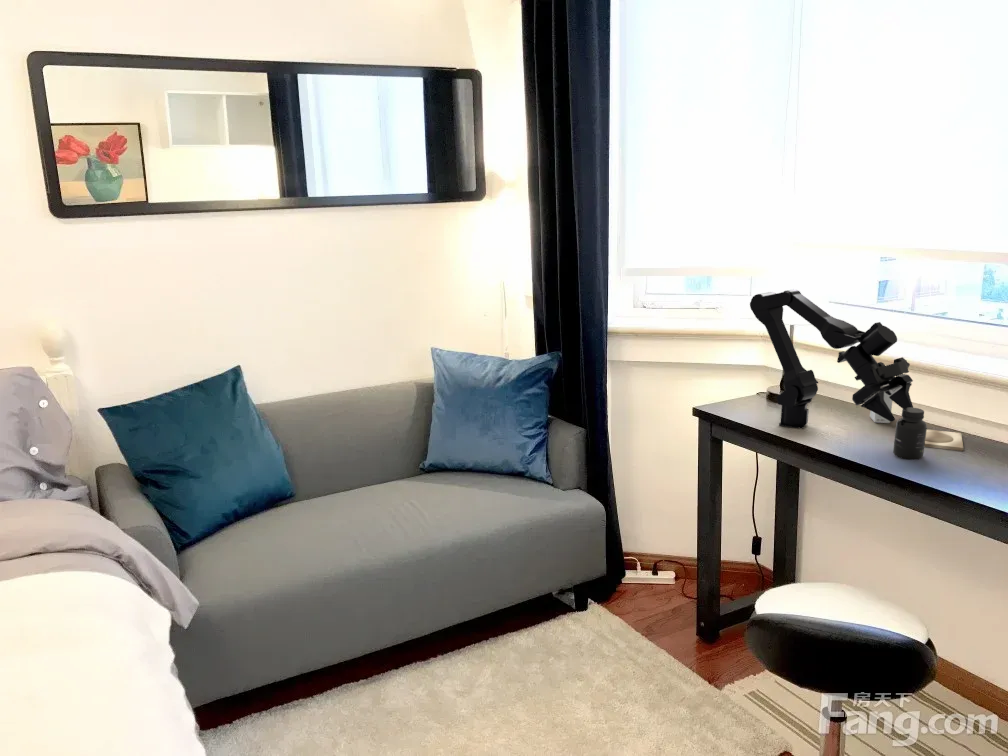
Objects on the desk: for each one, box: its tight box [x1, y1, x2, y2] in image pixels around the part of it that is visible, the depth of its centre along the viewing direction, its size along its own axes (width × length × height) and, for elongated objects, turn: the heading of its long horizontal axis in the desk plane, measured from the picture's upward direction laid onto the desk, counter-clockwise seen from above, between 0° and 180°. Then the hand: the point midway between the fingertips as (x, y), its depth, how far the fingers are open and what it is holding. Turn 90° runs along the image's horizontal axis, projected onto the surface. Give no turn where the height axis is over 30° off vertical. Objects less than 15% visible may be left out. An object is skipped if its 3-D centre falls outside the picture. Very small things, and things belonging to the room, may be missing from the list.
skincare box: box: [869, 392, 893, 424], centre depth 226 cm, size 6×4×12 cm
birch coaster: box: [924, 429, 964, 452], centre depth 210 cm, size 13×13×1 cm
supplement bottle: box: [892, 406, 928, 461], centre depth 197 cm, size 7×7×12 cm
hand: (903, 417), depth 198 cm, fingers open, 9 cm apart
